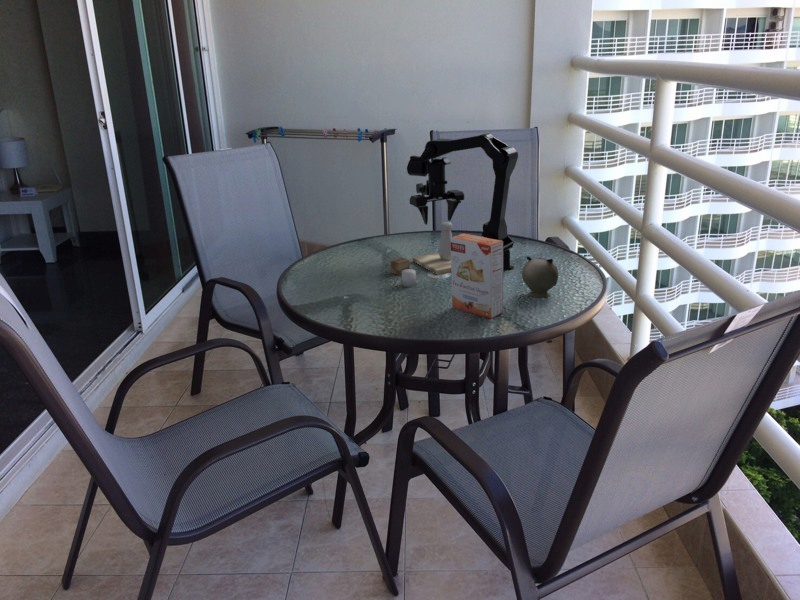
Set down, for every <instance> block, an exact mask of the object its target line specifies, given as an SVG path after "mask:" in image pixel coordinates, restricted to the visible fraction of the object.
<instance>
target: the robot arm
mask: <svg viewBox="0 0 800 600" xmlns="http://www.w3.org/2000/svg"><path fill="white" fill-rule="evenodd" d="M477 148H478V149H479V148H481V149H482V150H483V151H484V153H485V154H486V156H487V157H489V159H491V160H492V170H493V172H494V176H495V178H494V184H493V191H492V192H493V194H492V201H491V210H490V218H489V220H488V221H487V222H485V223H483V224H482V233H481V236H480V237H485V238H490V239H495V240H501V241H503V272H504V271H508V270H513V269H514V268H515V267H514V266H513V265H511V251H510V249H512V248H514V243H515V241H514V240H513V239H512V238H511V236H509V234H508V225H507V223H506V212H507V204H508V195H509V187H510V180H511V176H512V175H513V172H514V170H515V168H516V165H517V161H518V158H519V153H518V151H517V150H516V148H514V147H513V146H510V145H508V144H507V143H505V142H504V141H502V140H500V139H498V138H496V137H495V136H494V135H493V134H491V133H489V132H487V133H482V134H480V135H479V134H478V135H474V136H468V137H463V138H462V137H461V138H457V139H451V138H450V139H449V138H437V139H432V140H429V141H427V142H426V143H425V147H424V150H423V152H422V153H421V155H420V156H418V155H411V156H410V157H409V160H408V162H407V166H406V171H407V174H408V176H410V177H411V176H412V177H414V176H415V177H427V176H428V177H427V178H428V179H427V180H426V184H423V182H421V183H417V184H416V185H415V190H416V191H415V192H416V194H415V195H411V196H410V197H409V205H412V206H413V207H414V208H416V209H418V211H419V212H420V214H421V215H420V216H421V219H422V220H423V223H424V225H425V226H427V225H428V221H429V206H428V203H429V202H439V201H446V204H447V222H451V221H452V218H453V216H454V213H455V211H456V209H457V208H458V206H459V204H461V203H462V201H464V200H465V193H464V192H463V191H462V190H458V189H451V190H447V191H446V185H447V184H448V180H446V166H448V165H451V164H452V161H450V160H449V159H448V157H447V156H445V155H448V154H452V153H453V152H457V151H459V152H460V151H464V150H471V149H477ZM442 156H444V157H442ZM440 157H442V158H440Z"/></svg>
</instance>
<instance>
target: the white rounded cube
mask: <svg viewBox="0 0 800 600" xmlns="http://www.w3.org/2000/svg"><path fill="white" fill-rule="evenodd" d="M416 273H417V271H416V270H415V269H412V268H410V269H406V270H403V271H402V275H401V282H402V283H401V284H402V285H403V286H402V287H404V286H407V287H406V288H411V286H413V287H415V285H416V286H417V275H416Z"/></svg>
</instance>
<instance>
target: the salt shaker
mask: <svg viewBox="0 0 800 600" xmlns="http://www.w3.org/2000/svg"><path fill="white" fill-rule="evenodd" d="M439 229H440V239H439V246H438V252H437V253H439V256H440V258H441V260H443V261H450V260H451V239H450V238H451V237H453V233H452V229H453V223H452V222H451V221H443V222H441V223H440V224H439Z"/></svg>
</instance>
